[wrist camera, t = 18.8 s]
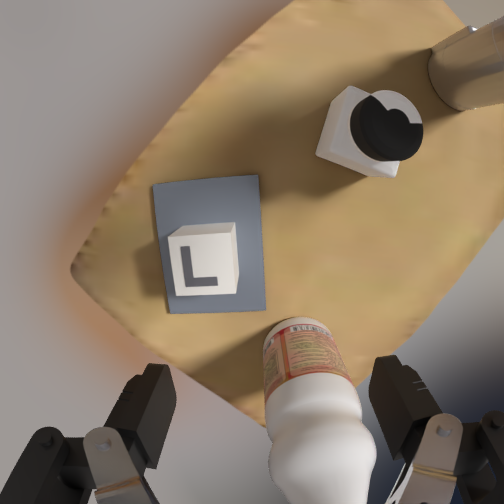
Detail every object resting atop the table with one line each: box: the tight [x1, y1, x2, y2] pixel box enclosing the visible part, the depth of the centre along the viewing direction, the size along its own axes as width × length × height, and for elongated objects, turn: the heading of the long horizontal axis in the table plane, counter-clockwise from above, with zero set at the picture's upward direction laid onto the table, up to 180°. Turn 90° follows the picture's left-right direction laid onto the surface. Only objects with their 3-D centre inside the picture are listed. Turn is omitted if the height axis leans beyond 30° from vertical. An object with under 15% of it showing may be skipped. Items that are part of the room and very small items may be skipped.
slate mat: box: [153, 175, 266, 314], centre depth 34 cm, size 16×12×1 cm
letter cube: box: [168, 222, 239, 296], centre depth 31 cm, size 6×6×6 cm
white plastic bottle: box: [263, 317, 376, 504], centre depth 24 cm, size 9×9×28 cm
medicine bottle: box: [315, 86, 423, 178], centre depth 25 cm, size 7×7×12 cm
